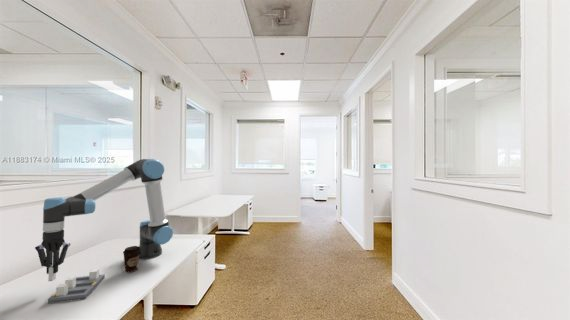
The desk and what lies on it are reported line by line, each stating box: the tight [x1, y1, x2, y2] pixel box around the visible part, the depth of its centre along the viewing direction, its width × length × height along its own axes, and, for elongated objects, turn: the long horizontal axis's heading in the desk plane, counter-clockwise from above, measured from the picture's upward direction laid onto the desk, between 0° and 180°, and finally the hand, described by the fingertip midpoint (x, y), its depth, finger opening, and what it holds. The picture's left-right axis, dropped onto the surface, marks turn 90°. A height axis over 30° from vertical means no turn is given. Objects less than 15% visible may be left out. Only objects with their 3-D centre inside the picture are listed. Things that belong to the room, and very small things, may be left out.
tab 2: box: [64, 276, 77, 288], centre depth 120 cm, size 3×3×4 cm
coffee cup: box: [122, 245, 140, 274], centre depth 142 cm, size 9×8×13 cm
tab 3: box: [88, 268, 100, 280], centre depth 129 cm, size 3×3×4 cm
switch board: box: [47, 273, 106, 304], centre depth 121 cm, size 14×21×2 cm, turn 16°
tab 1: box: [55, 283, 68, 296], centre depth 113 cm, size 3×3×4 cm
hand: (52, 280), depth 118 cm, fingers closed
